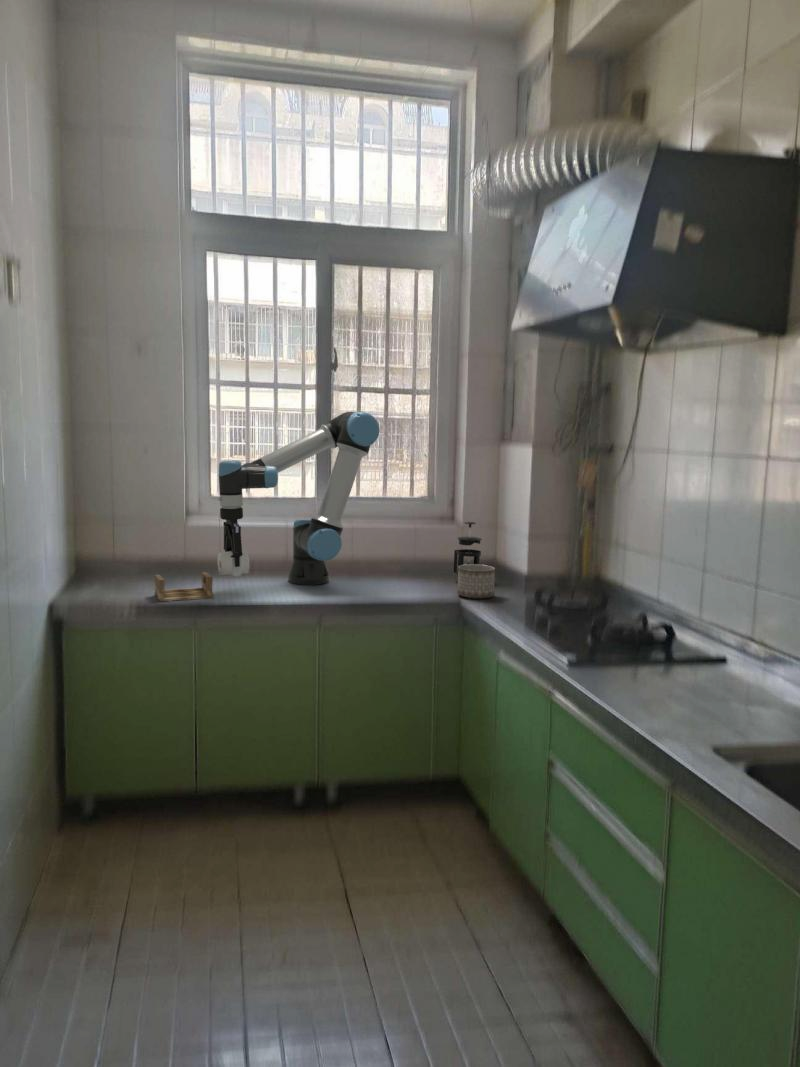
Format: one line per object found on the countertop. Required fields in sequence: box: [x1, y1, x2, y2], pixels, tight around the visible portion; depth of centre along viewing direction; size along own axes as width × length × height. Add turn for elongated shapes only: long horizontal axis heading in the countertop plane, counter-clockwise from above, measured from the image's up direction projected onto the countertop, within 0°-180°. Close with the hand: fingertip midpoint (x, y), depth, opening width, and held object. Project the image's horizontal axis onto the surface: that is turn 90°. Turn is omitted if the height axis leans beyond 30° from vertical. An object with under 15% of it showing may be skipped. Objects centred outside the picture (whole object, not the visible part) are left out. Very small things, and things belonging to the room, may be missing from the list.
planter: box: [456, 563, 496, 599], centre depth 286 cm, size 13×13×10 cm
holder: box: [154, 571, 214, 602], centre depth 273 cm, size 17×11×7 cm, turn 116°
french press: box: [453, 521, 482, 584], centre depth 310 cm, size 12×9×23 cm
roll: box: [216, 549, 251, 577], centre depth 279 cm, size 9×8×8 cm
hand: (233, 573), depth 280 cm, fingers closed on roll, 8 cm apart
